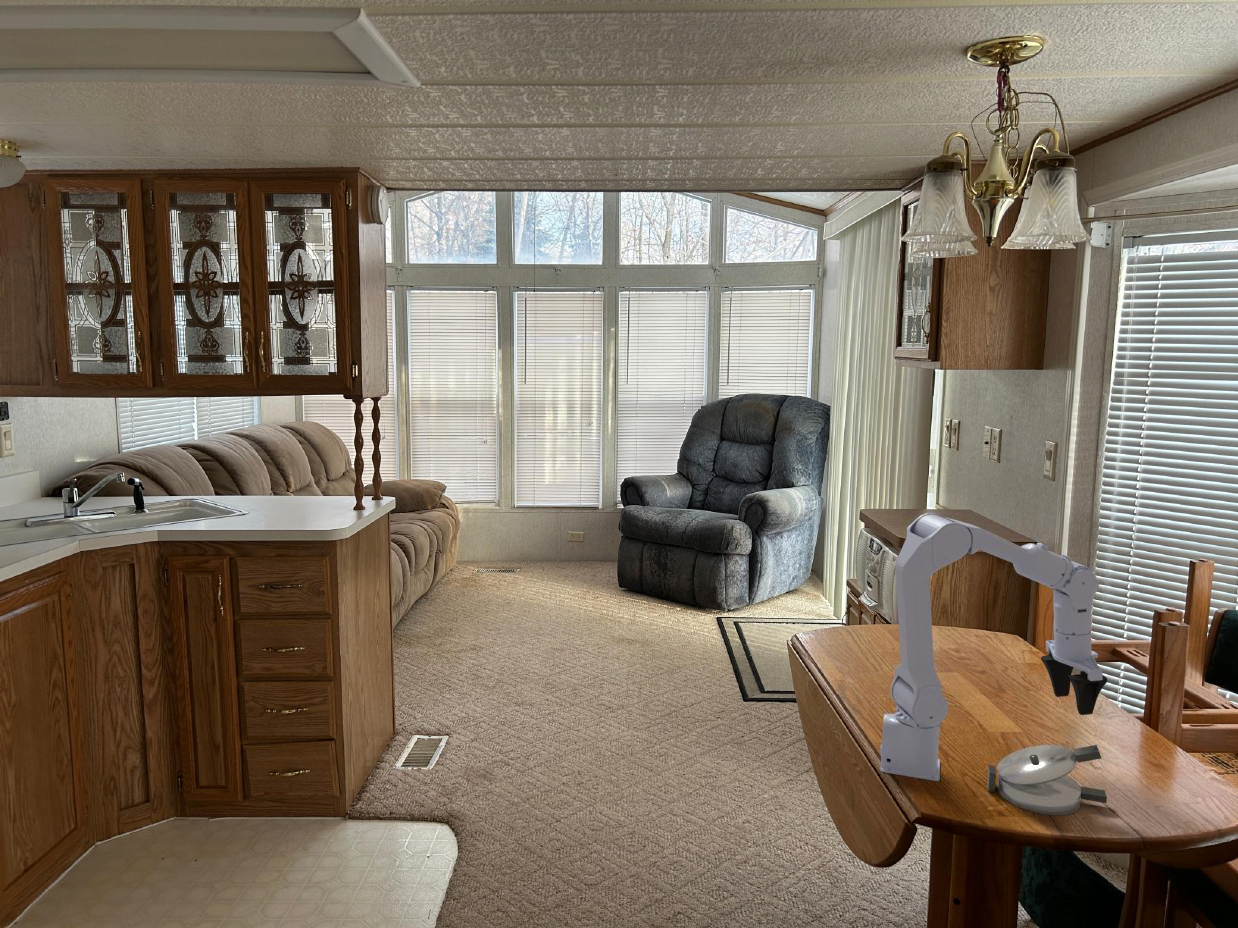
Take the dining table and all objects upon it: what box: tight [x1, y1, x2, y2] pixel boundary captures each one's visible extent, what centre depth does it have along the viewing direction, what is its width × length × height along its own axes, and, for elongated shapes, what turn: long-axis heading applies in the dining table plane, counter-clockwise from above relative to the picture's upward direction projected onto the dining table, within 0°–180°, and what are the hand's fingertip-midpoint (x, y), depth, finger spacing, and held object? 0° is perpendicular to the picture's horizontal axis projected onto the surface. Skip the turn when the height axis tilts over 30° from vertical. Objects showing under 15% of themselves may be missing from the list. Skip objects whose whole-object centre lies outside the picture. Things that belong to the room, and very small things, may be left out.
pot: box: [987, 764, 1108, 816], centre depth 138 cm, size 17×12×3 cm
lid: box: [996, 744, 1103, 785], centre depth 138 cm, size 16×12×2 cm
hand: (1073, 704), depth 150 cm, fingers open, 7 cm apart
